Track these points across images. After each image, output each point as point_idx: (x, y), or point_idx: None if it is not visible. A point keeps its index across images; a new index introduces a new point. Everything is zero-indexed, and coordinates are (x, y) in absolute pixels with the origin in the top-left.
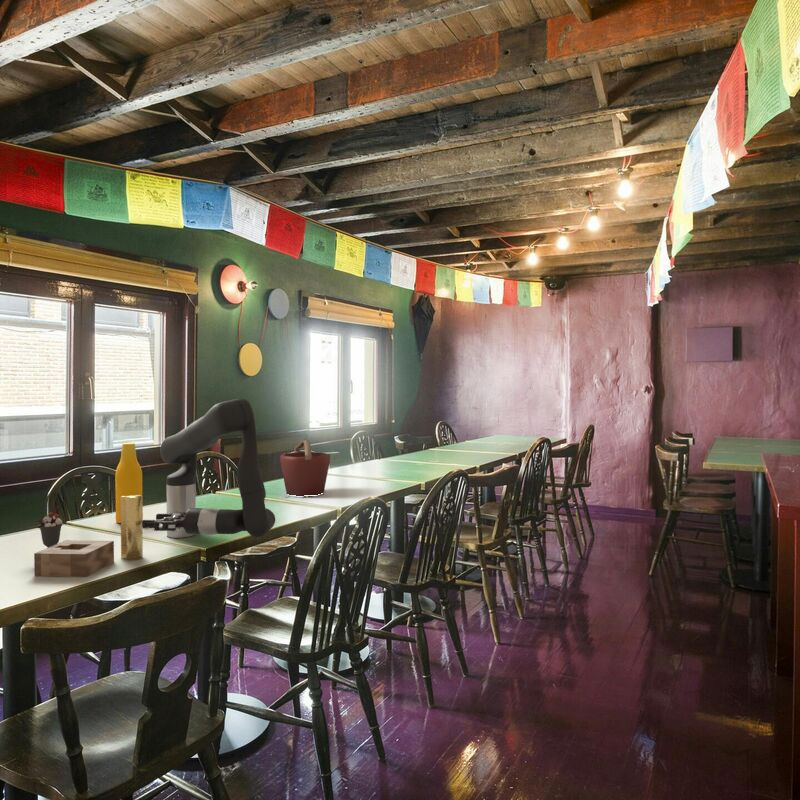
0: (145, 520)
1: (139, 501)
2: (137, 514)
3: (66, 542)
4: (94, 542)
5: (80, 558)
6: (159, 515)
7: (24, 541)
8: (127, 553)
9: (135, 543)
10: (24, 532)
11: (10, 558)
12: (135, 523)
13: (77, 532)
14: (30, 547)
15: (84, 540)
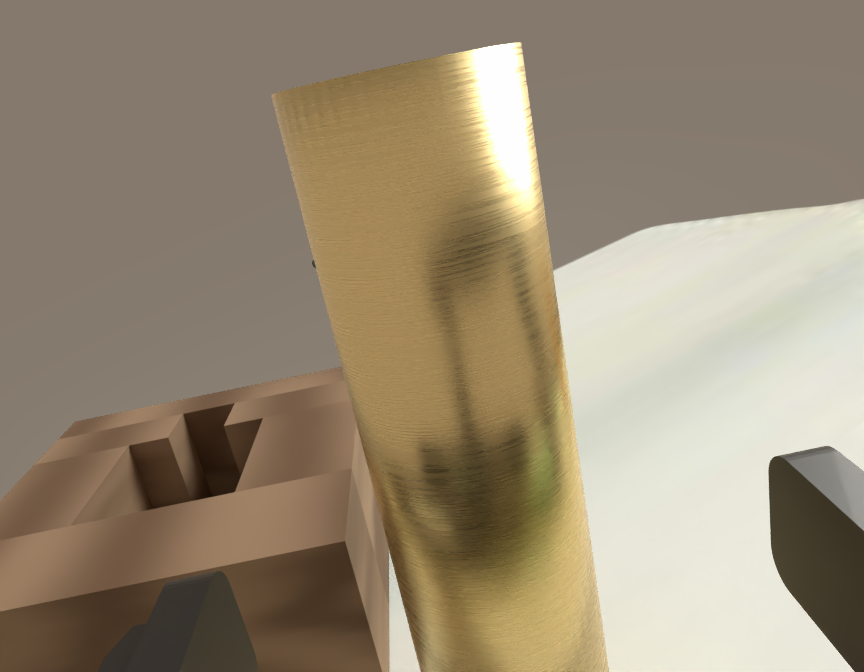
0: (154, 616)
1: (362, 164)
2: (377, 378)
3: (304, 387)
4: (289, 476)
5: None
6: (813, 511)
7: (619, 263)
8: None
9: None
10: (710, 220)
11: None
12: (386, 491)
13: (832, 259)
14: (559, 302)
15: (352, 412)
